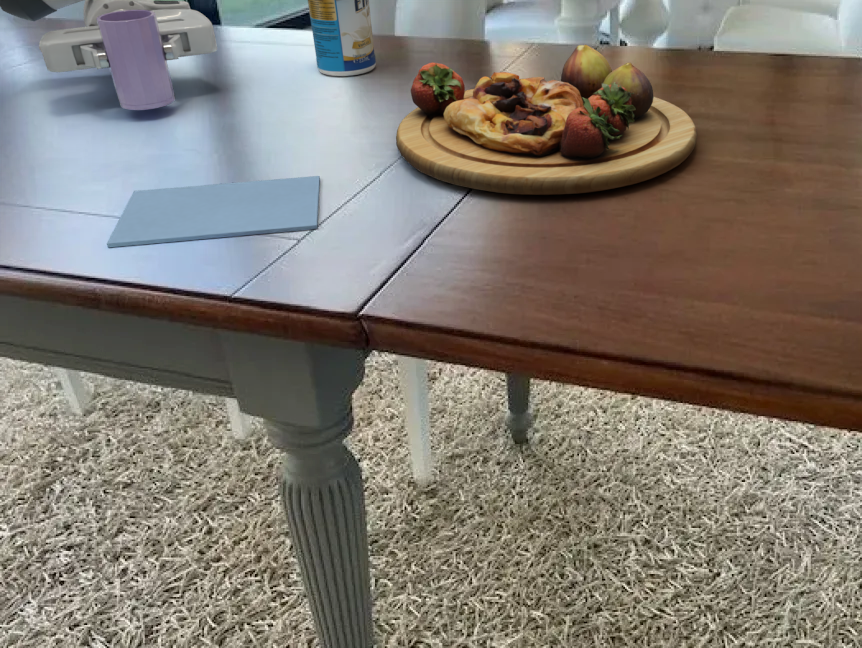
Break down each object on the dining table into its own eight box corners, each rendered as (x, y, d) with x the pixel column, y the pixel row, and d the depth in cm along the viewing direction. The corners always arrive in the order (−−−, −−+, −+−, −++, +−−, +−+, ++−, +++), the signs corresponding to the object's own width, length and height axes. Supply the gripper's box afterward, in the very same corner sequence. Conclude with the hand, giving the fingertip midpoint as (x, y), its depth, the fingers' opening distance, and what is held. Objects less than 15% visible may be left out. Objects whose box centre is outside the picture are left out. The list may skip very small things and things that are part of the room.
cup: (115, 111, 102) (90, 23, 96) (126, 96, 107) (103, 11, 101) (170, 108, 102) (149, 19, 97) (178, 92, 108) (158, 8, 102)
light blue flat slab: (107, 247, 74) (106, 243, 74) (134, 194, 84) (133, 190, 84) (317, 229, 76) (316, 224, 76) (320, 179, 86) (319, 175, 86)
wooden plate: (334, 159, 90) (323, 79, 86) (513, 85, 111) (512, 18, 106) (591, 231, 74) (594, 137, 69) (744, 128, 95) (755, 51, 90)
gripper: (30, 16, 106) (32, 39, 95) (198, -1, 113) (218, 19, 102) (46, 69, 109) (50, 96, 99) (209, 48, 116) (228, 72, 106)
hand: (137, 57), depth 101 cm, fingers closed on cup, 6 cm apart
